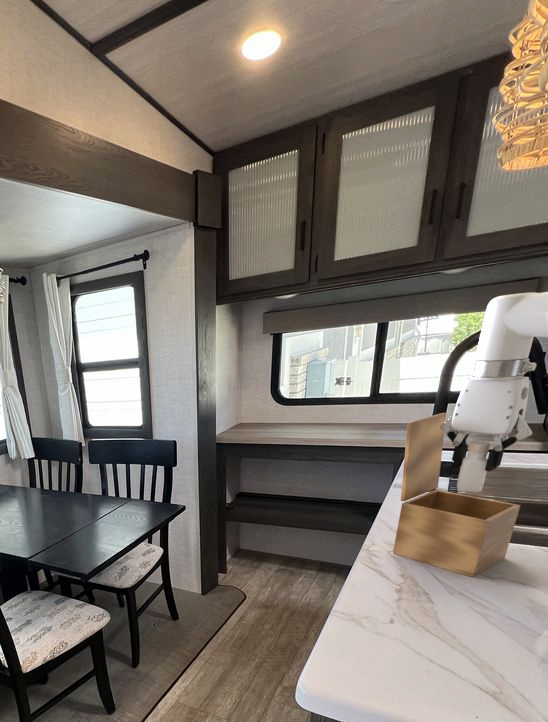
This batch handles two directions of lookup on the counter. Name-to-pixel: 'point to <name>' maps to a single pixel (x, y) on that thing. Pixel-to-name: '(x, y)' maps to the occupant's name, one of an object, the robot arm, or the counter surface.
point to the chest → (455, 531)
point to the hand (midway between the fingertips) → (474, 466)
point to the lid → (422, 456)
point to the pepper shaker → (473, 467)
